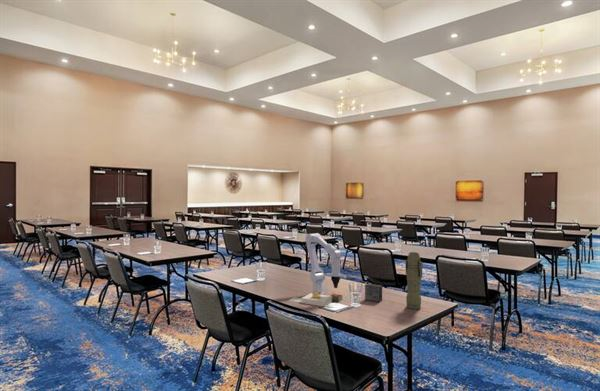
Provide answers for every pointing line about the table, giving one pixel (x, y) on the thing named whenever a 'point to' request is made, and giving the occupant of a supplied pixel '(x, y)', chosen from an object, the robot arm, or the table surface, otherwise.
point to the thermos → (413, 280)
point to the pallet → (317, 300)
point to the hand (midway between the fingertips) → (335, 287)
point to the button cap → (336, 294)
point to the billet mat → (296, 299)
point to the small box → (373, 292)
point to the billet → (316, 294)
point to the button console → (336, 298)
